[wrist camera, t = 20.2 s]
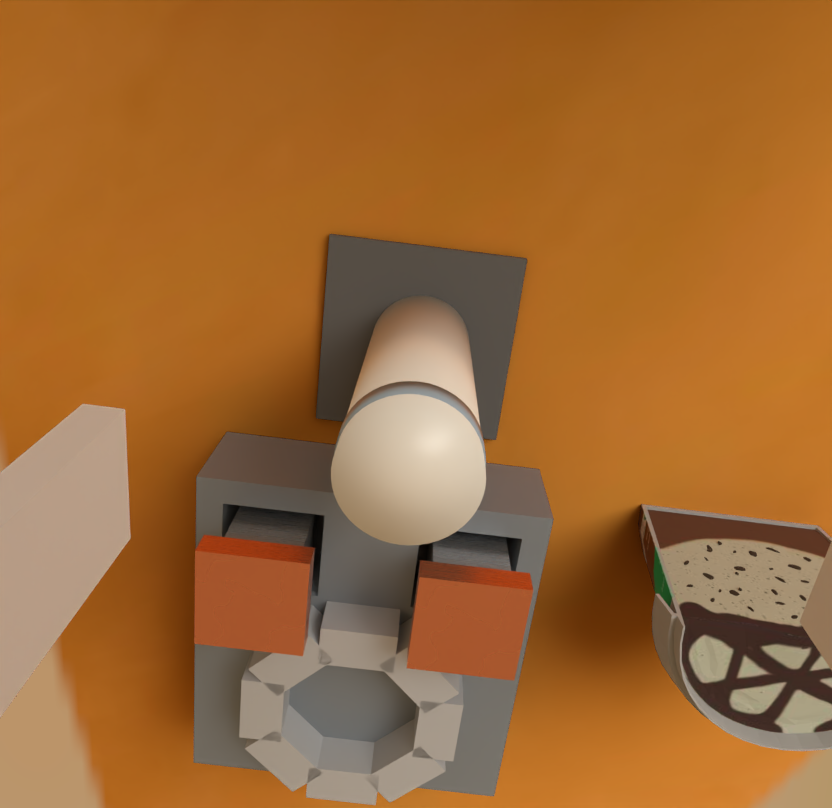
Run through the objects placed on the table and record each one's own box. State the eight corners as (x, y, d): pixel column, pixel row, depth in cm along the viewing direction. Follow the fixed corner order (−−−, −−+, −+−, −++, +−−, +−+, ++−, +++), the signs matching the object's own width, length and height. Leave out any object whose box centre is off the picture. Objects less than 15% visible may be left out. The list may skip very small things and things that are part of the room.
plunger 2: (423, 496, 35) (419, 577, 29) (516, 507, 36) (533, 590, 29) (412, 576, 37) (406, 668, 31) (501, 586, 37) (514, 680, 31)
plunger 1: (238, 474, 35) (195, 550, 29) (332, 485, 35) (310, 564, 29) (235, 555, 37) (194, 643, 31) (325, 565, 37) (302, 656, 31)
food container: (588, 598, 40) (633, 743, 31) (612, 500, 38) (669, 624, 29) (809, 625, 40) (920, 776, 31) (846, 528, 38) (978, 661, 29)
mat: (330, 233, 33) (329, 235, 33) (526, 258, 33) (527, 259, 33) (317, 415, 37) (315, 418, 36) (495, 436, 37) (495, 439, 36)
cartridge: (375, 288, 34) (335, 395, 21) (476, 300, 34) (499, 415, 21) (366, 383, 36) (323, 537, 22) (462, 395, 36) (475, 555, 23)
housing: (226, 431, 37) (181, 498, 31) (539, 469, 37) (560, 543, 31) (220, 693, 43) (181, 794, 37) (488, 723, 44) (496, 830, 37)
